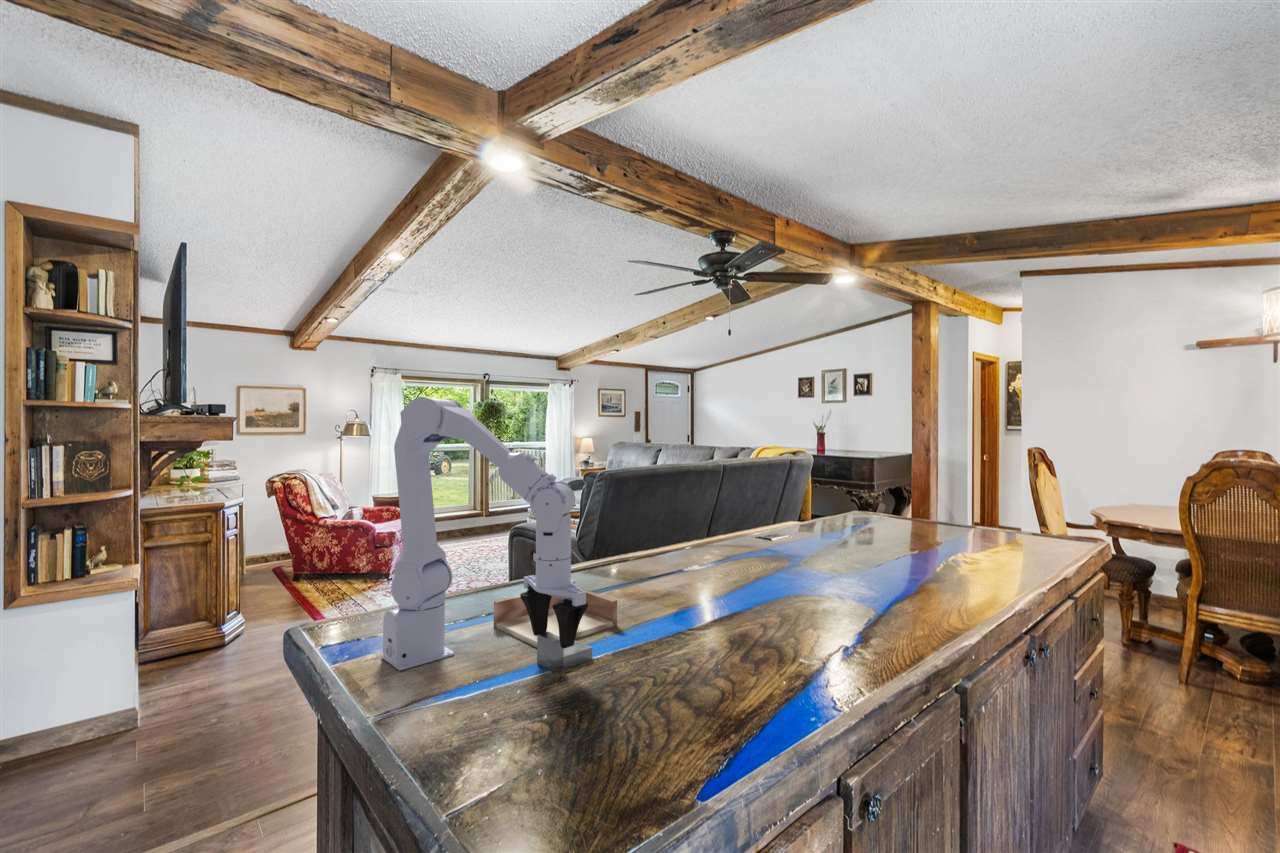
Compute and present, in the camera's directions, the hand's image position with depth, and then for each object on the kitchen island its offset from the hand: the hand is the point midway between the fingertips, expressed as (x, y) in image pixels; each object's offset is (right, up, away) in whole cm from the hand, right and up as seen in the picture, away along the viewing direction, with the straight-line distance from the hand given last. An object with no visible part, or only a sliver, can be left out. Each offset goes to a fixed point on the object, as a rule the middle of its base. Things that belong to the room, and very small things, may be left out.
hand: (553, 640), depth 95 cm
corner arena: (-2, -4, +19) cm, 19 cm away
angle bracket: (+2, -4, +2) cm, 5 cm away
